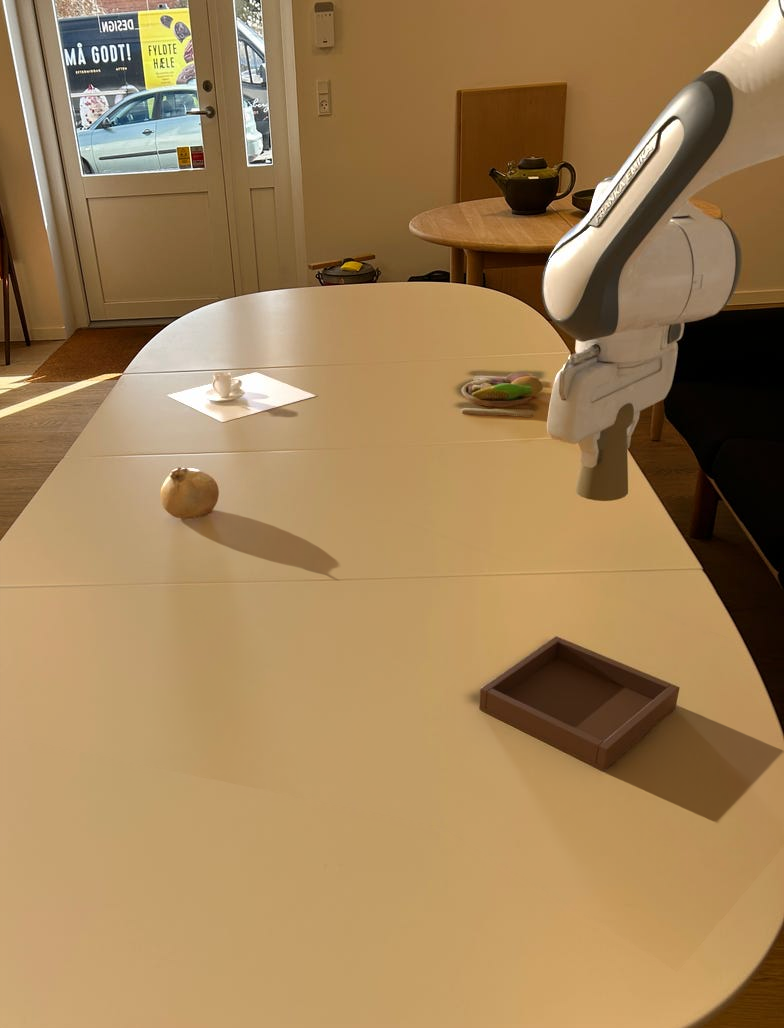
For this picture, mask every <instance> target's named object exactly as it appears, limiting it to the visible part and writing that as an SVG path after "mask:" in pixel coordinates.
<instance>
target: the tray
mask: <svg viewBox="0 0 784 1028" xmlns="http://www.w3.org/2000/svg"><path fill="white" fill-rule="evenodd" d="M679 693H680V686H678V685H676V684H673V683H670V682H668V681H666V680H663V679H661V678H658V677H657V676H653V675H651V674H649V673H646V672H644V671H641V670H639V669H637V668H635V667H632V666H630V665H627V664H624V663H622V662H620V661H618V660H615V659H614V658H613V659H612V658H610V657H608V656H606V655H603V654H601V653H598V652H596V651H593V650H591V649H588V648H586V647H583V646H581V645H579V644H577V643H574V642H572V641H569V640H567V639H564V638H561V637H559V636H554V637H552V638H551V639H549V640H548V641H547V642H545V643H544V644H542V645H540V646H539V647H538V648H537V649H535V650H534V651H532V652H531V653H530V654H528V655H527V656H525V657H523V658H522V659H521V660H519V661H518V662H516V663H515V664H513V665H512V666H511V667H509V668H507V669H506V670H505V671H503V672H502V673H501V674H499V675H498V676H496V677H495V678H493V679H491V681H489V682H488V683H486V684H485V685H483V686H482V687H481V688H480V690H479V705H478V709H479V710H480V711H481V712H483V713H485V714H487V715H489V716H492V717H493V718H496V719H497V720H499V721H502V722H504V723H505V724H507V725H510V726H511V727H513V728H515V729H517V730H519V731H522V732H523V733H526V734H528V735H529V736H531V737H534V738H535V739H537V740H540V741H542V742H543V743H546V744H547V745H550V746H552V747H554V748H555V749H558V750H560V751H562V752H564V753H566V754H567V755H570V756H572V757H574V758H575V759H577V760H579V761H581V762H583V763H585V764H587V765H589V766H592V767H594V768H595V769H597V770H599V771H601V772H605V771H606V770H607V769H608V768H609V767H611V765H613V764H614V763H615V762H616V761H618V759H620V758H621V757H622V756H623V755H624V754H625V753H627V752H628V751H629V750H630V749H631V748H633V747H634V745H636V744H637V743H638V742H639V741H640V740H641V739H643V738H644V737H645V736H646V735H647V734H649V732H650V731H651V730H653V729H654V728H655V727H656V726H657V725H658V724H660V723H661V722H662V721H664V719H666V718H667V717H668V716H669V715H670V714H671V713H672V712H673V711H675V709H676V708H677V702H678V698H679Z"/></svg>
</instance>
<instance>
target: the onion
mask: <svg viewBox="0 0 784 1028" xmlns="http://www.w3.org/2000/svg"><path fill="white" fill-rule="evenodd" d="M219 495H220V490H219V485H218V483H217V482H216V480H215V478H214V477H212V475H210V474H209V473H207V472H205V471H203V470H201V469H197V468H191V467H190V468H185V467H180V466H177V467H176V468H174V469H173V470H170V473H169V475H168V476H167V477H166V478H165V480H164V482H163V484H162V485H161V488H160V492H159V497H160V501H161V505H162V507H163V509H164V510H165V511H166V512H167V513H168V514H169V515H170V516H172V517H174V518H175V519H176V518H177V519H183V520H191V519H194V518H199V517H200V518H203V517H205V516H208V515H211V514H212V513H213V512H214V509H215V507H216V505H217V504H218V500H219Z"/></svg>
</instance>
